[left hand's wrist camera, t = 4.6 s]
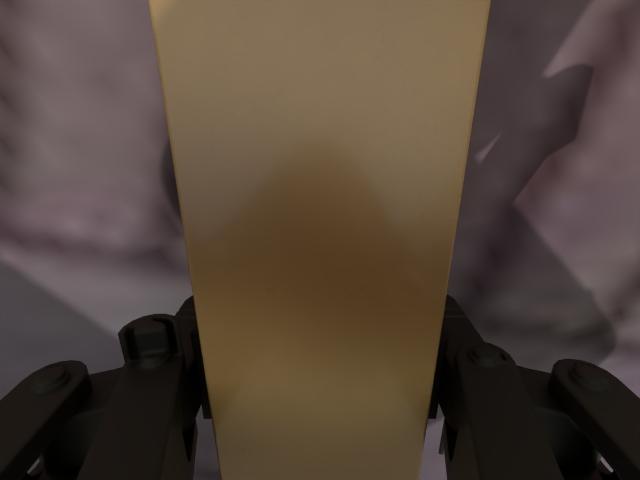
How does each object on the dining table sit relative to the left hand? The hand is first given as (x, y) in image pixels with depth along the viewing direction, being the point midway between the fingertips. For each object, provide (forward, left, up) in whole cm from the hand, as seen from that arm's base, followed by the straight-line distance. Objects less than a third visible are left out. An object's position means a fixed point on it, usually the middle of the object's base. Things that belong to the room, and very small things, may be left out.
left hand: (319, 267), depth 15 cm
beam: (+24, 0, -1) cm, 24 cm away
